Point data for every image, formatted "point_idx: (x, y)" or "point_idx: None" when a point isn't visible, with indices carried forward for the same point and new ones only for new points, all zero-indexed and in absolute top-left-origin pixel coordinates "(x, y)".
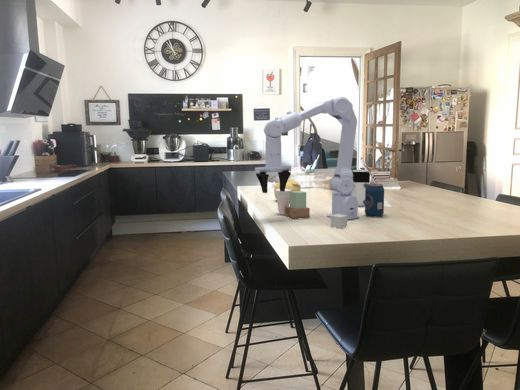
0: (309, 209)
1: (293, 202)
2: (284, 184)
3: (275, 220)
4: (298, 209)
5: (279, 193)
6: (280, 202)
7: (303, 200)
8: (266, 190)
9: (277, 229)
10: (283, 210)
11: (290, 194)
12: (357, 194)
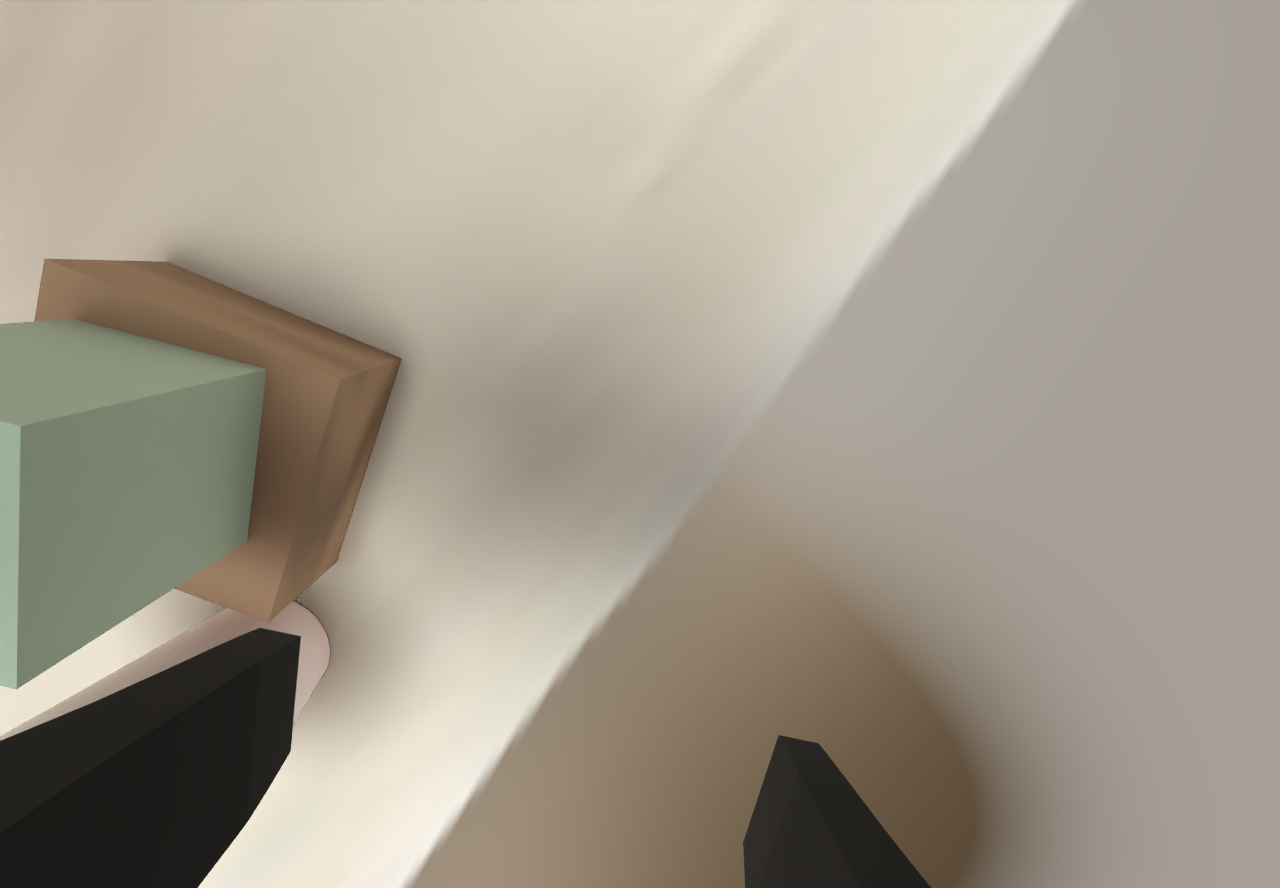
0: (64, 259)
1: (194, 470)
2: (140, 727)
3: (600, 468)
4: (246, 337)
5: None
6: None
7: (3, 346)
8: (825, 777)
9: (988, 69)
10: None
11: (73, 627)
12: None
